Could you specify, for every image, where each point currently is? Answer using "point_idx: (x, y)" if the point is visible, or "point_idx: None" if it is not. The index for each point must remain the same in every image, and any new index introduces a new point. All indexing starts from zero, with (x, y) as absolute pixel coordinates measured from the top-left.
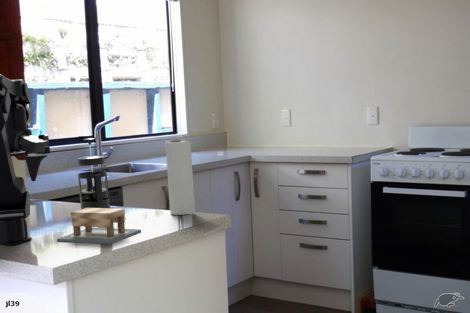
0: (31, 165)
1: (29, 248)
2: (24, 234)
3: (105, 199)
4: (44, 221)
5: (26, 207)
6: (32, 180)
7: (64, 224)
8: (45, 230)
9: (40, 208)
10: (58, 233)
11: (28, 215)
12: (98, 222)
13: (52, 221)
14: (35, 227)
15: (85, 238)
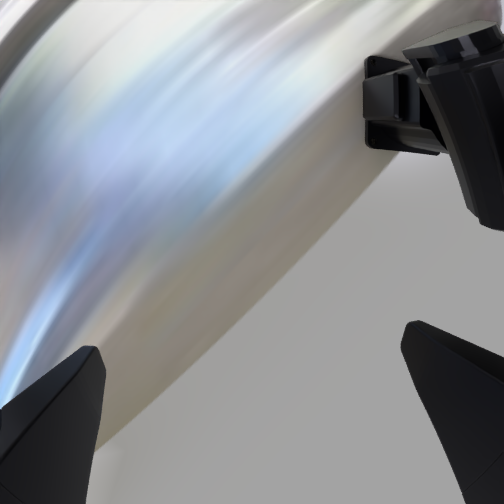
0: (52, 497)
1: (436, 9)
2: (399, 67)
3: None
4: (80, 284)
5: (468, 25)
6: (102, 368)
7: (90, 143)
8: (208, 127)
9: None
10: (246, 26)
11: (425, 39)
12: None
13: (67, 251)
14: (170, 228)
15: None
